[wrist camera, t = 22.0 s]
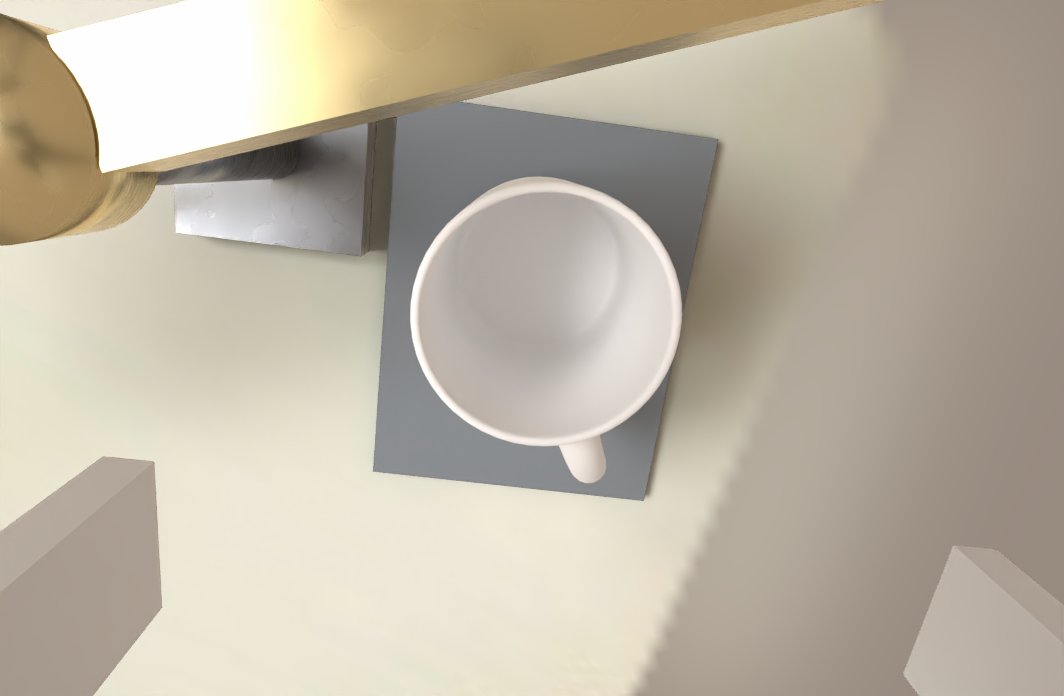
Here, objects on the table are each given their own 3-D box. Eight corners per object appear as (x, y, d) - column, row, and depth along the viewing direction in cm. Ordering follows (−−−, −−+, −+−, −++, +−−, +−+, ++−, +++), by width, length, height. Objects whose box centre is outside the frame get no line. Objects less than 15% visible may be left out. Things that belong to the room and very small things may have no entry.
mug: (657, 400, 31) (724, 512, 21) (495, 440, 31) (486, 569, 21) (604, 154, 27) (654, 147, 17) (424, 202, 28) (371, 223, 18)
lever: (952, -201, 13) (1097, -322, 10) (957, 30, 14) (1086, -9, 11) (-710, 215, 14) (-1060, 228, 11) (-575, 388, 16) (-854, 445, 12)
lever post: (188, 38, 26) (-136, -87, 13) (379, 66, 27) (247, -29, 14) (193, 228, 28) (-82, 282, 15) (368, 251, 29) (245, 321, 16)
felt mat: (401, 94, 27) (398, 93, 26) (714, 139, 28) (718, 139, 27) (375, 465, 32) (373, 471, 31) (641, 494, 33) (643, 500, 32)
